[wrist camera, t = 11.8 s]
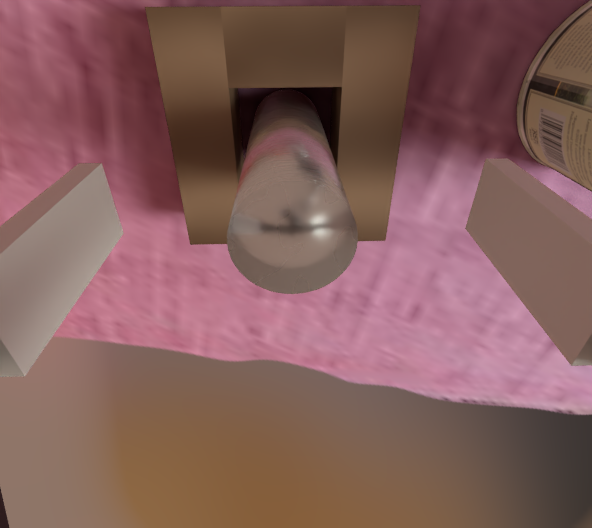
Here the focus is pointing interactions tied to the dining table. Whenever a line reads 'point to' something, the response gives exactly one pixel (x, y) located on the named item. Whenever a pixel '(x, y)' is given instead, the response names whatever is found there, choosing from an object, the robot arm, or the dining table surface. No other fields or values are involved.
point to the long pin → (290, 202)
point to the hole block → (280, 74)
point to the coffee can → (561, 100)
